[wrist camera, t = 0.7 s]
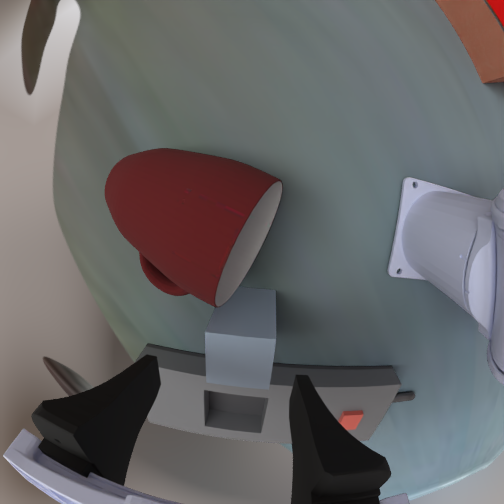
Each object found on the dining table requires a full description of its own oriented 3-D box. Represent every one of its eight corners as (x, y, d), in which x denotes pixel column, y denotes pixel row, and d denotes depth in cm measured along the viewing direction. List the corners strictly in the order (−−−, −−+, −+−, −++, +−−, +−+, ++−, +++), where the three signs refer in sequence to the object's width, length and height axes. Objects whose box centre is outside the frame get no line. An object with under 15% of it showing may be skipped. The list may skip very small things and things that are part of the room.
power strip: (428, 363, 23) (442, 383, 19) (397, 417, 25) (406, 438, 22) (147, 343, 24) (132, 365, 20) (157, 403, 26) (147, 425, 23)
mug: (154, 230, 24) (249, 281, 23) (91, 278, 18) (198, 353, 16) (168, 118, 18) (294, 164, 16) (77, 142, 11) (237, 213, 10)
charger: (275, 289, 21) (276, 339, 14) (270, 335, 22) (268, 392, 16) (224, 285, 21) (204, 332, 15) (223, 330, 23) (206, 385, 16)
